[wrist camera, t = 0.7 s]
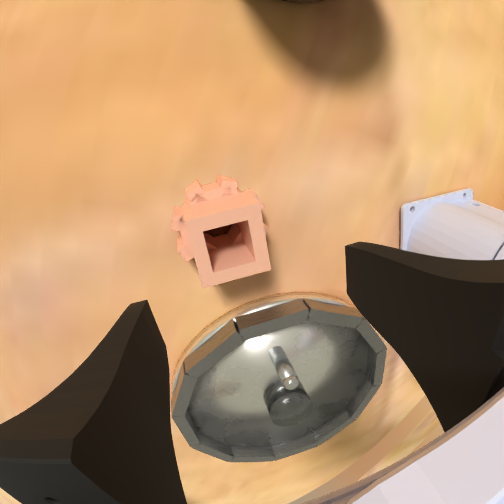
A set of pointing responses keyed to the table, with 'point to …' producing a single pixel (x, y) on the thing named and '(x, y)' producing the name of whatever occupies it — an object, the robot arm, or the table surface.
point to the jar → (302, 0)
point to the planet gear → (227, 245)
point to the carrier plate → (276, 377)
